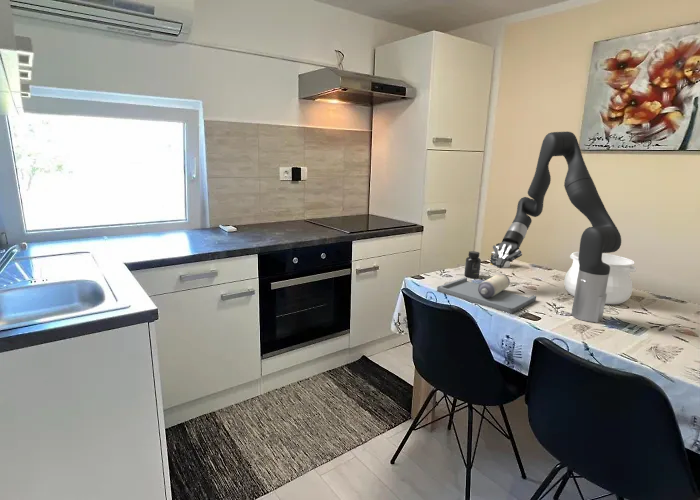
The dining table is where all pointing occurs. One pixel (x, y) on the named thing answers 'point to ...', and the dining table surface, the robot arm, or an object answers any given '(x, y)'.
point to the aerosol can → (493, 285)
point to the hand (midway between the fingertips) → (498, 266)
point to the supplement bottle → (472, 265)
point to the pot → (617, 280)
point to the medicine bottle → (494, 259)
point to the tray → (499, 301)
